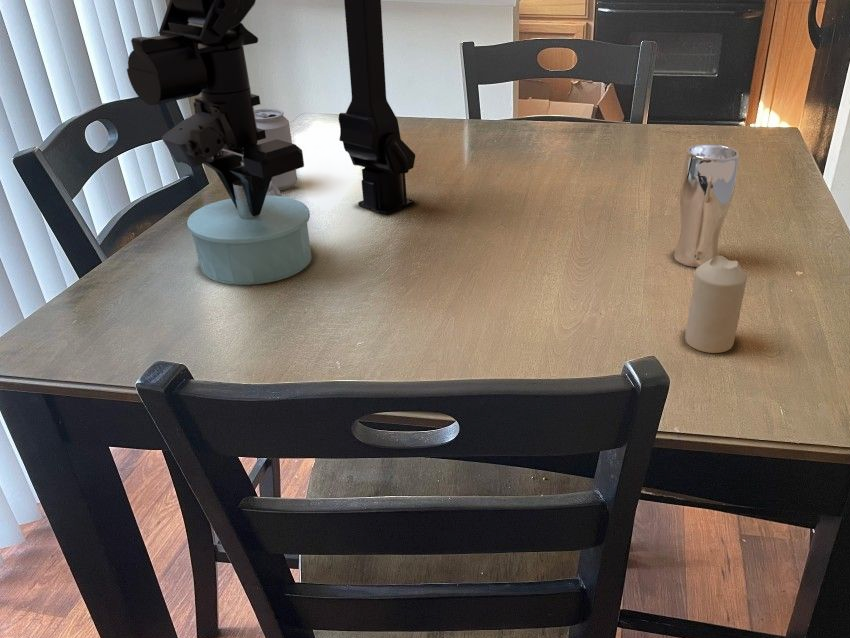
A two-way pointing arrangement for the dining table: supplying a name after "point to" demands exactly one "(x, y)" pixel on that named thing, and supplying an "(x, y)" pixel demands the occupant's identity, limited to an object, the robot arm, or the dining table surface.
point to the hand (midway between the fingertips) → (248, 212)
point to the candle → (715, 305)
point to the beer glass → (705, 201)
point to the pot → (255, 258)
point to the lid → (247, 219)
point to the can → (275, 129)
